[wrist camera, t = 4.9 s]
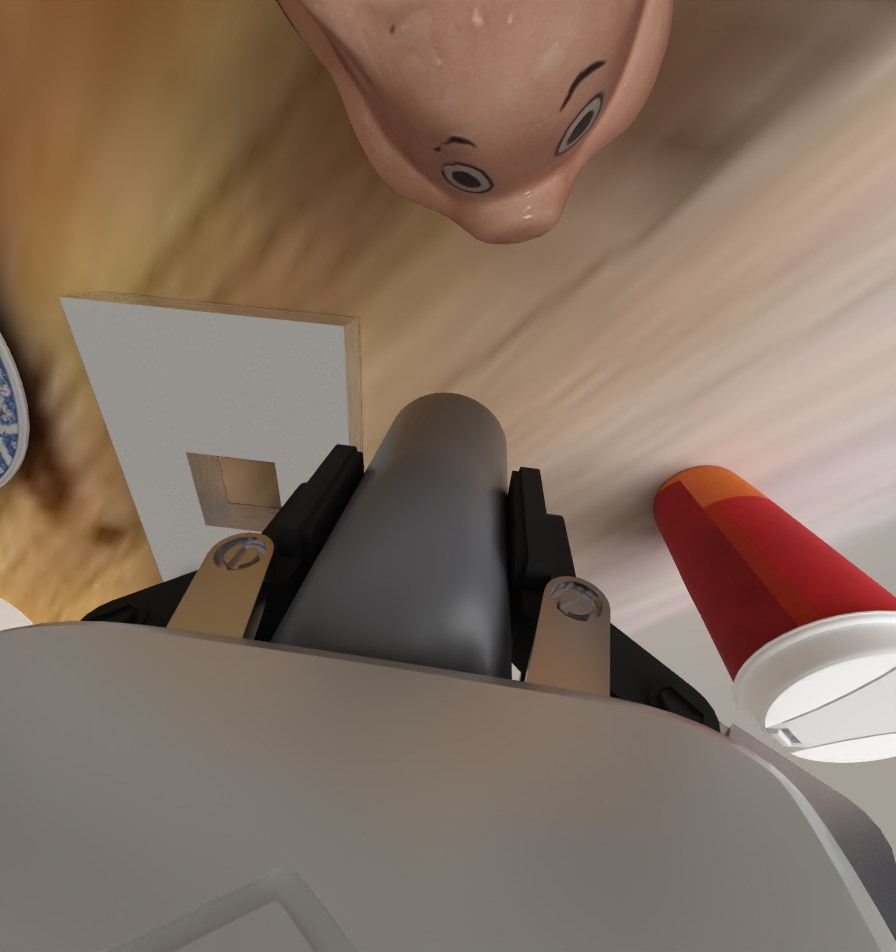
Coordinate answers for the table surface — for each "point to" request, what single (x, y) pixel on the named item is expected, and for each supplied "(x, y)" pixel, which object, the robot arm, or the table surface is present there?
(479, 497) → the gray cylinder
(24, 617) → the honey pot
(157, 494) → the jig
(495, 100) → the decorative planter
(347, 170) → the table surface
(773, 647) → the coffee cup
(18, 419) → the ceramic plate
